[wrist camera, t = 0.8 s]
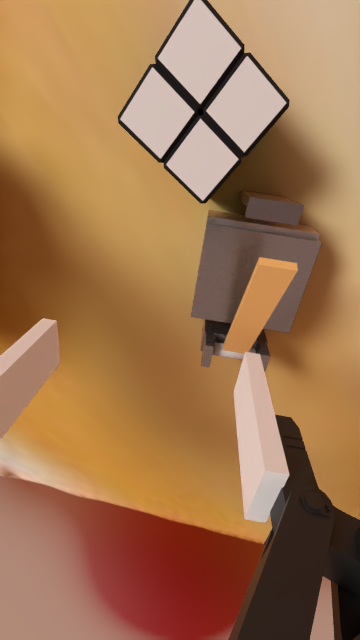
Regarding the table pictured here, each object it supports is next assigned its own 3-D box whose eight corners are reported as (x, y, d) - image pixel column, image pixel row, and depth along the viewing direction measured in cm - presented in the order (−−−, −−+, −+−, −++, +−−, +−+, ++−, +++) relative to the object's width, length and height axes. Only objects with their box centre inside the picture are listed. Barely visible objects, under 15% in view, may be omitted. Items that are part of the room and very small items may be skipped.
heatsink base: (189, 327, 44) (183, 362, 36) (212, 186, 35) (212, 192, 27) (269, 340, 43) (281, 379, 35) (314, 201, 34) (345, 212, 26)
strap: (213, 345, 38) (212, 356, 37) (247, 251, 24) (246, 266, 23) (252, 352, 38) (251, 363, 37) (309, 261, 23) (310, 276, 23)
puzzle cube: (202, 40, 29) (196, -15, 20) (271, 119, 31) (293, 101, 22) (141, 132, 33) (114, 120, 24) (206, 196, 35) (203, 206, 26)
